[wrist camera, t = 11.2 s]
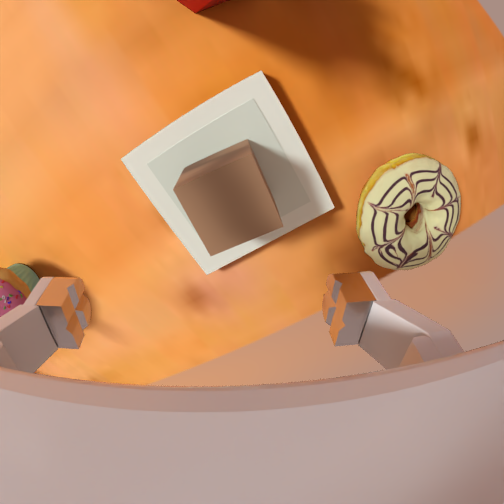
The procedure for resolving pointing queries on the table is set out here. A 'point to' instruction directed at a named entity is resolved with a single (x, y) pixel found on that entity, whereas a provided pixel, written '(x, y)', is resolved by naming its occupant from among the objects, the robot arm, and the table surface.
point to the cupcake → (15, 286)
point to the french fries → (200, 4)
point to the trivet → (223, 136)
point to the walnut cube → (228, 198)
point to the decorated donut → (399, 202)
